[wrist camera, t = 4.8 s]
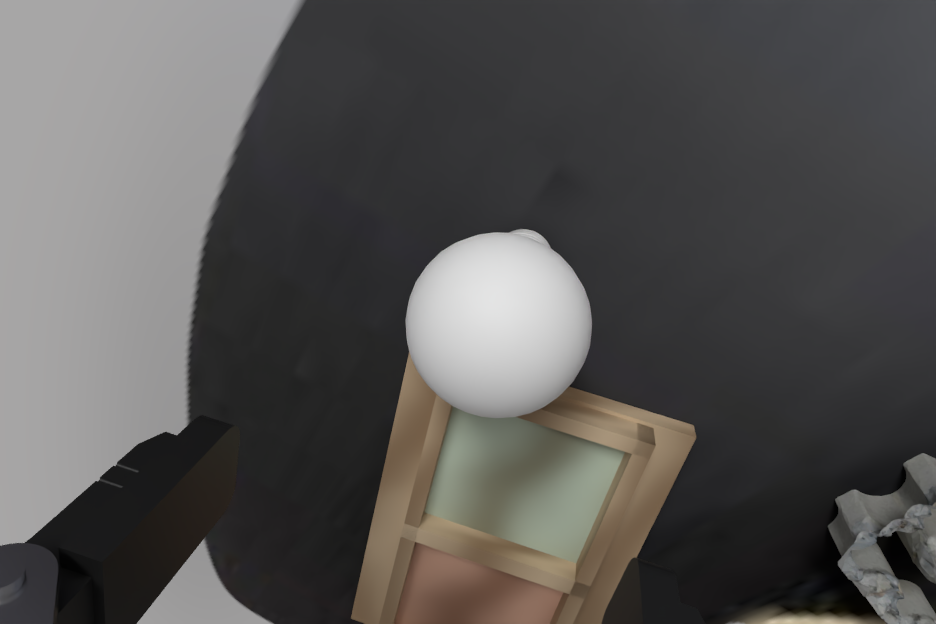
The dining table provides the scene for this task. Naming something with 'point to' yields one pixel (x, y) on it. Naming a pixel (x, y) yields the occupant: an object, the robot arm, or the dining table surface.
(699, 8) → the dining table surface
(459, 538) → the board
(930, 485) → the egg carton
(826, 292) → the dining table surface
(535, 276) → the lightbulb
